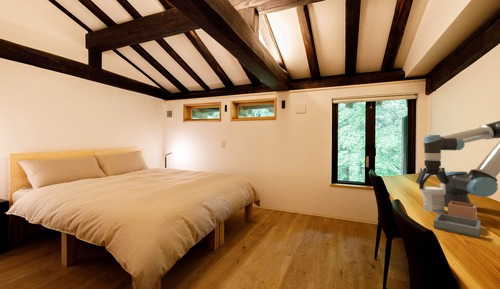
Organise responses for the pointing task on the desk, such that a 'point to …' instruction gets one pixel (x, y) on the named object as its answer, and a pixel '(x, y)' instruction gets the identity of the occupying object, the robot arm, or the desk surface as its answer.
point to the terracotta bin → (462, 209)
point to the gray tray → (458, 225)
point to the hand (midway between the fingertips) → (432, 194)
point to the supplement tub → (434, 199)
